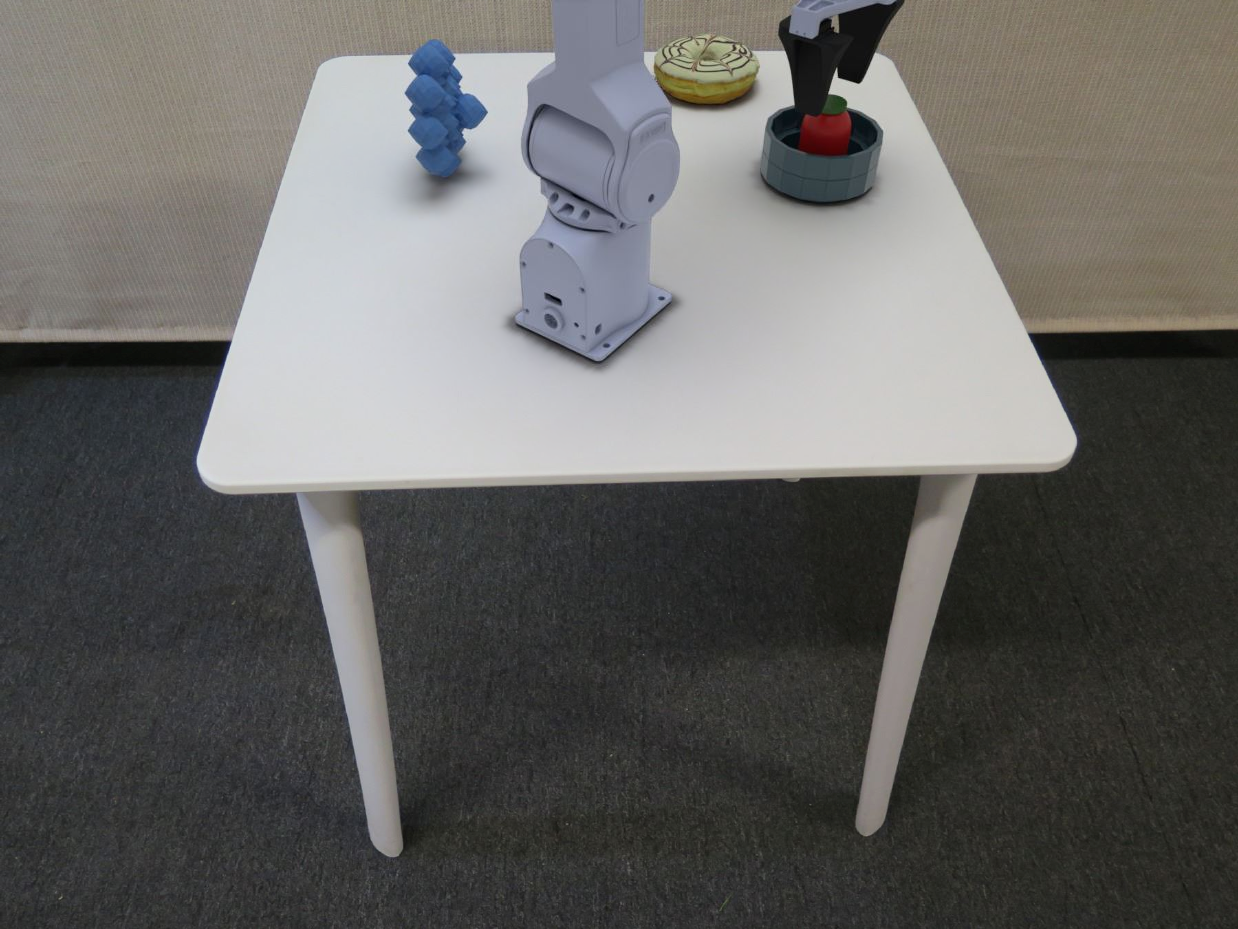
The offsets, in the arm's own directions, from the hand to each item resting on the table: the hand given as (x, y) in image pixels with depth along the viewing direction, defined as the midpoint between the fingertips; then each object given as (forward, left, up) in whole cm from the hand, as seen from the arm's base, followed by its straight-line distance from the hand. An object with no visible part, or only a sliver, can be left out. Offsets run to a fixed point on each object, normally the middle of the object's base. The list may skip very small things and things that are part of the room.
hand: (829, 95), depth 83 cm
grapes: (-19, +26, -8) cm, 33 cm away
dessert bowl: (0, 0, -8) cm, 8 cm away
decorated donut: (+10, +18, -8) cm, 22 cm away
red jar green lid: (0, 0, -7) cm, 7 cm away
